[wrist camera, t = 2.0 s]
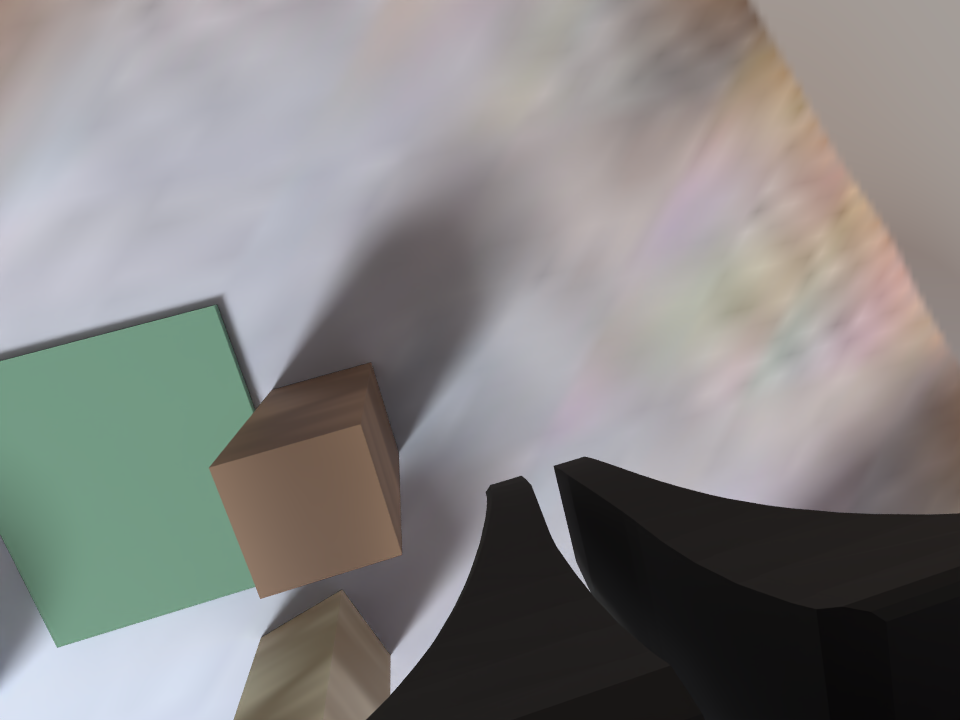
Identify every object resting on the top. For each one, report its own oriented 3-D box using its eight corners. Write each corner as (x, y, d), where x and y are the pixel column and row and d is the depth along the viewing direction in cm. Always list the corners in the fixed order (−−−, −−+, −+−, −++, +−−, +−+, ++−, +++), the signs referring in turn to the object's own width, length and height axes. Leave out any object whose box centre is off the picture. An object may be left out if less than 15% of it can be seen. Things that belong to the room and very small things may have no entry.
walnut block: (371, 362, 20) (360, 424, 13) (398, 452, 21) (402, 554, 14) (272, 389, 20) (208, 467, 13) (303, 480, 20) (260, 598, 14)
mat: (216, 304, 19) (213, 305, 18) (311, 565, 21) (310, 569, 21) (-69, 379, 18) (-77, 381, 18) (62, 641, 20) (57, 647, 20)
